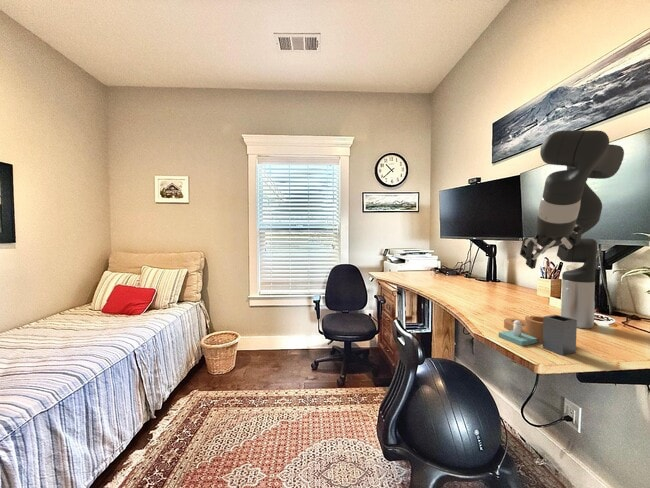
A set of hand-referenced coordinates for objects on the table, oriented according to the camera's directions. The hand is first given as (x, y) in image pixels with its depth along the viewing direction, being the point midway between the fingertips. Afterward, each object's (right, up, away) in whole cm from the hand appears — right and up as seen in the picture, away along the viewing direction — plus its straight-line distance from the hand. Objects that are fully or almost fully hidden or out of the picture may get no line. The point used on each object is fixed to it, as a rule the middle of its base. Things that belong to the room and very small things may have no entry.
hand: (545, 262), depth 76 cm
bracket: (+11, -27, +21) cm, 36 cm away
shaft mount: (+3, -27, +16) cm, 32 cm away
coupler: (+10, -28, +7) cm, 30 cm away
